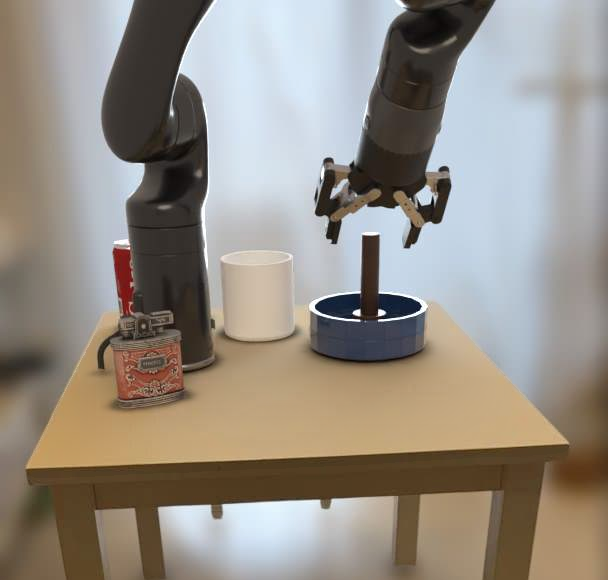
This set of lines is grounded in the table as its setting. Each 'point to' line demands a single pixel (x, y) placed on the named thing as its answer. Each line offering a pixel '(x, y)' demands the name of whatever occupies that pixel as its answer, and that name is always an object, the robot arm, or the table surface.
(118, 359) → the lighter
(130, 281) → the soda can
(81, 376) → the table surface
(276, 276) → the mug
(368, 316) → the brown peg with base
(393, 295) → the bowl
